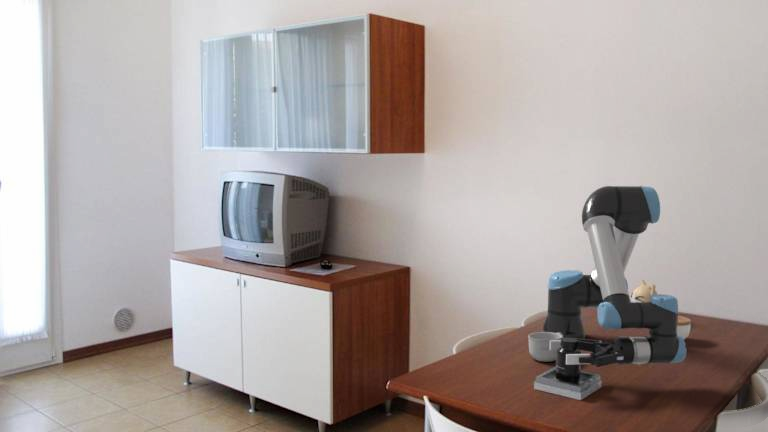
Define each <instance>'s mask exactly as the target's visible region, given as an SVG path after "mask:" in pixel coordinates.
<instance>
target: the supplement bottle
mask: <svg viewBox="0 0 768 432" xmlns="http://www.w3.org/2000/svg"><path fill="white" fill-rule="evenodd" d="M560 346H561V347H560V348H558V350H557V354H556V360H555V366H556V380H558V381H562V382H567V383H571V384H576V383H578V382H579V381H580V371H582V369H581V367H582V366H581V365H582V364H575V365H566V354H582V352H581V350H579V349H577V347H578V340H577V339H574V338H562V339H561V343H560Z"/></svg>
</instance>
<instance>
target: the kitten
mask: <svg viewBox="0 0 768 432" xmlns="http://www.w3.org/2000/svg"><path fill="white" fill-rule="evenodd" d="M657 294H658V292H657V291H656V284H654V283H653V284H651V285H647V284H646V282H645V280H644V279H641V281H640V285H639V286H637V287H636V288H634V290H633V292H632V293H631V295H630V301H631V302H634V303H635V302H649V301H650V297H651V296H652V295H657Z"/></svg>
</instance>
